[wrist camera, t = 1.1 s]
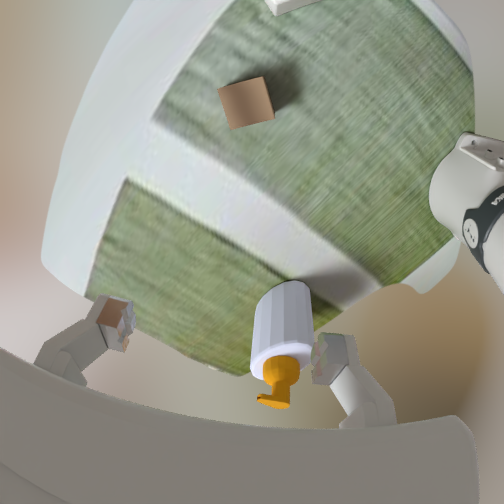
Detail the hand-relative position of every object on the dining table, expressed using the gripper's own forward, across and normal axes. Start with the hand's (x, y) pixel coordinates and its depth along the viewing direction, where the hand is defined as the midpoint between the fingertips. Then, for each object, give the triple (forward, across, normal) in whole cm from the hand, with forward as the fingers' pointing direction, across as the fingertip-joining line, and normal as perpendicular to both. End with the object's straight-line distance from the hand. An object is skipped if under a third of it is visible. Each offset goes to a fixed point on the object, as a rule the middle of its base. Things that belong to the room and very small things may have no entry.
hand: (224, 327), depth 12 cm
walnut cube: (+29, +2, -5) cm, 30 cm away
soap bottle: (+29, -10, +28) cm, 41 cm away
